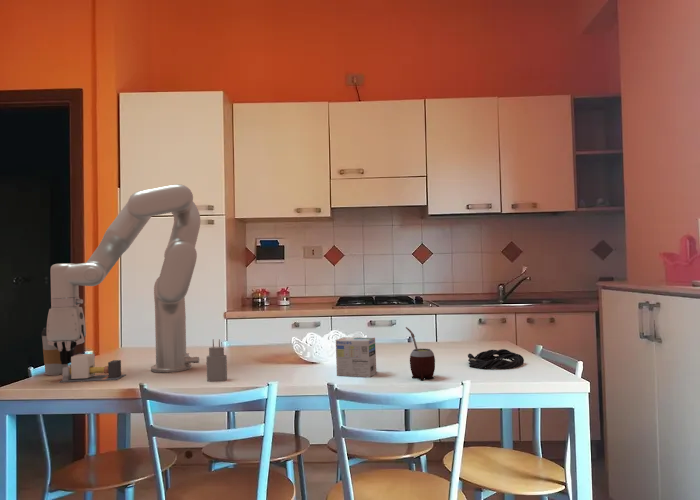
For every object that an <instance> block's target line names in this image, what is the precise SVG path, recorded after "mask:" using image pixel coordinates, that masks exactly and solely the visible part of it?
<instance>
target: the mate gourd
mask: <svg viewBox="0 0 700 500" xmlns="http://www.w3.org/2000/svg"><path fill="white" fill-rule="evenodd" d="M405 329H406V330H407V331H408V332H409V333H410V337H411V338H412V341H413V345H414V347H415V349H412V350H411V352H410V355H409V367H410V371H411V374H412V376H411V379H420V381H421V382H422V381H423V382H424V380H427V379H428V380H434V379H435V376H434V374H435V370H436V359H435V358H436V357H435V354H434V352H433V350H432V349H430V348H418V345H417V342H416V339H415V337H416V336H415V334H414V333H413V332H412V330H411V329H410V328H409V327H407V326H406V327H405Z"/></svg>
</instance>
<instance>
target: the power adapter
mask: <svg viewBox="0 0 700 500" xmlns="http://www.w3.org/2000/svg"><path fill="white" fill-rule="evenodd" d="M214 340H215V339H212V346H210V347H208V352H209V353H208V355H207V356H206V381H207V382H208V383H210V382H212V383H214V382H216V383H217V382H219V383H220V382H226V381H227V380H228V366H227V365H228V364H227V363H228V360H227V359H228V358H227V354H225V347H224V346H221V343H220V342H221V340H220V339H218V346H215V344H214V342H215V341H214Z"/></svg>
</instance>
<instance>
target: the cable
mask: <svg viewBox="0 0 700 500" xmlns="http://www.w3.org/2000/svg"><path fill="white" fill-rule="evenodd" d="M467 357H468V366H469V367H470V368H471V367H472V368H476V369H478V370H481V369H483V370H484V369H486V370H487V369H489V370H490V369H500V370H505V369H515V368H517V367H520V366H522V365H523V364H524V362H525V359H524V357H523V356H522V355H521V354H518V353H516V352H513V351H510V350H508V349H505V348H503V349H502V348H500V349H488V350H485V351H481V352H479V353H477V354H476V355H475V356H474V355H473V354H472V353H468V354H467Z"/></svg>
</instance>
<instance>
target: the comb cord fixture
mask: <svg viewBox="0 0 700 500" xmlns="http://www.w3.org/2000/svg"><path fill="white" fill-rule="evenodd" d="M107 364H108V365H107V366H95V367H89V371H90V373H95V375H94V376H92V377H90V378H78V379H71V364H70V365H69V366H68V367H64V368H63V374H62V379H61V380H59V383H75V382H77V383H78V382H81V381H82V382H103V381H104V382H105V381H107V382H108V381H118V380H120V379H122V378H124V377H125V376H127V374H122V360H121V359H116V360H115V359H113V360H111V361H108V363H107ZM97 374H99V375H97ZM101 374H103V375H101Z"/></svg>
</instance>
